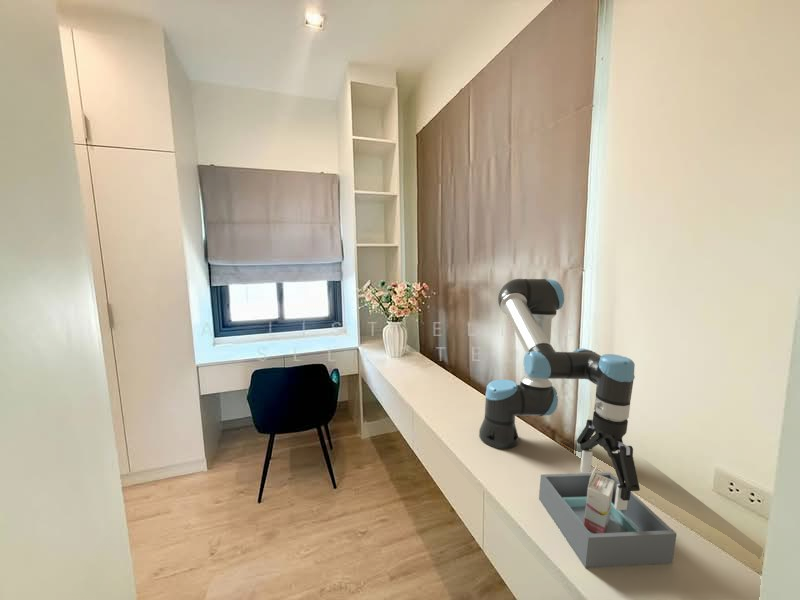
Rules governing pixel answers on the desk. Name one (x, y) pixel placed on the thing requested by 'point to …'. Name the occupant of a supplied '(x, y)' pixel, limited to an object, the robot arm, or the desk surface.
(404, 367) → the desk surface
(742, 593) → the desk surface
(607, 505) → the ink cartridge box
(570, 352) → the robot arm
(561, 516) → the grey square tray
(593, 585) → the desk surface
